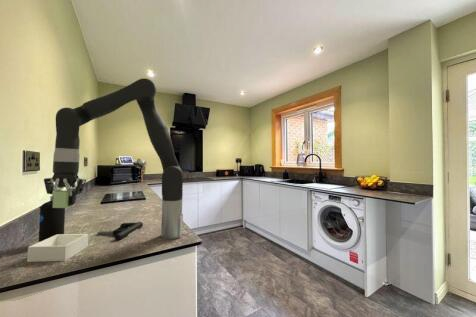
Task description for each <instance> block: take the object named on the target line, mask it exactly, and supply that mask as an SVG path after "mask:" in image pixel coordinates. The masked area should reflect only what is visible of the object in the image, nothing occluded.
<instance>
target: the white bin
mask: <svg viewBox="0 0 476 317" xmlns="http://www.w3.org/2000/svg"><path fill="white" fill-rule="evenodd" d="M88 247H89V233H75V234H74V233H69V234H68V233H66V234H65V233H64V234H57V235H54V236H52V237H50V238H48V239H45V240H43V241H41V242H39V241H38V242H36V243H34V244H32V245H29V246H28V247H27V257H26V258H27V260H26V262H27V263H31V262H32V263H33V262H34V263H35V262H36V263H37V262H61V261H62V262H65V261H67V260H68V259H70V258H72V257H73V256H75V255H76V254H78V253H79V252H81V251H83V250H84V249H86V248H88Z"/></svg>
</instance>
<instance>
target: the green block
mask: <svg viewBox="0 0 476 317" xmlns="http://www.w3.org/2000/svg"><path fill="white" fill-rule="evenodd" d="M72 192H73V191H72ZM52 196H53V208H65V209H67V208H70V207H75V205H76V203H75V204H74V205H72V206H68V199H69V191H67V190H66V189H62V190H61V191H54V193H53V195H52Z"/></svg>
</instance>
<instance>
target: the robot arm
mask: <svg viewBox="0 0 476 317" xmlns="http://www.w3.org/2000/svg"><path fill="white" fill-rule="evenodd" d="M156 94H157V85H156V84H155V83H154V82H153V80H151V79H149V78H139V79H137V80H136V81H134V82H132V83H130V84H129V85H126V86H125V87H122V88H120V89H117V90H116V91H113V92H111V93H107V94H106V95H103V96H100V97H96V98H94V99H91V100H88V101H85V102H83V103H82V104H81V105H80V106H77V107H75V108H71V107H62V108H60V109H58V110H57V112H56V114H55V134H56V136H55V143H54V152H53V157H52V158H53V160H52V161H53V162H52V173H53V175H52V177H47V178H44V179H43V183H44V187H45V192H46V194H47V195H51V196H53V193H54V191H61V190H64V188H65V190H67V191H69V199H68V206H71V207H73V206H72V205H74V204H75V205H76V199H77V198H76V197H77V195H80V194H82V192H83V190H84V188H85V185H86V182H87V179H86V178H81V177H79V175H78V173H79V169H80V142H81V141H80V135H79V134H80V127H82V126H83V125H85V124H87V123H90V122H92V121H93V120H95V119H100V118H101V117H103V116H106V115H109V114H112V113H114V112H115V111H118V110H119V109H120V108H121V107H123V106H125V105H127V104H129V103H130V102H134V101H136V102H137V105H138V107H139V109H140V111H141V114H142V116H143V121H144V125H145V128H146V132H147V134H148V137H149V141H150V143H151V145H152V147H153V150H154V151H155V153H156V155H157V156H158V158H159V160H160V163H161V168H162V175H161V226H160V227H161V228H160V231H161V232H160V233H161V234H160V237H161V238H162V239H164V240H172V239H173V240H174V239H178V238H179V239H180V238H181V237H182V235H183V231H184V230H183V228H184V227H183V226H184V225H183V224H184V214H183V194H184V193H183V189H184V188H183V185H184V183H183V181H184V173H183V170H182V168H181V167H180V164H179V162H178V160H177V157H176V155H175V150H174V146H173V145H174V144H173V141H172V138H171V134H170V132H169V128H168V126H167V123H166V122H165V120H164V119H163V118H162V116H161V114H160V113H159V110H158V108H157V104H156V101H155V96H156ZM72 191H73V192H72Z"/></svg>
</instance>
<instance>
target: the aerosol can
mask: <svg viewBox="0 0 476 317" xmlns="http://www.w3.org/2000/svg"><path fill="white" fill-rule="evenodd" d="M38 208H39V221H38V222H39V223H38V224H39V225H38V227H39V228H38V242H41V241H43V240H45V239H48V238H50V237H52V236H54V235H57V234H65V224H66V223H65V218H66V216H65V215H66V208H53V195H50V198H49V201H47V202H44V203H43V204H41V206H39V207H38Z"/></svg>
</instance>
